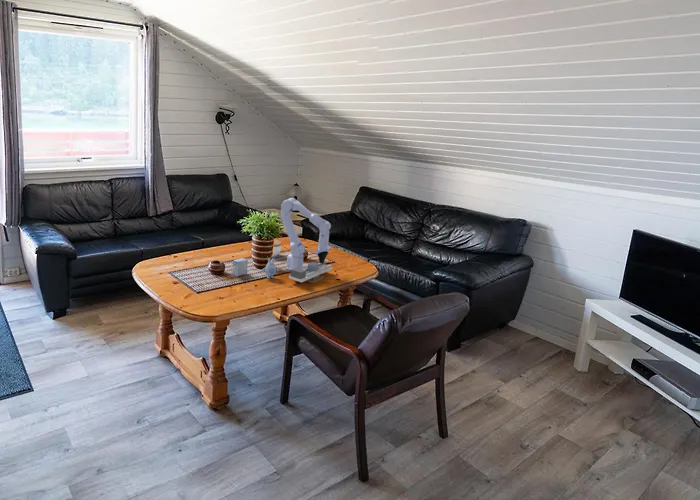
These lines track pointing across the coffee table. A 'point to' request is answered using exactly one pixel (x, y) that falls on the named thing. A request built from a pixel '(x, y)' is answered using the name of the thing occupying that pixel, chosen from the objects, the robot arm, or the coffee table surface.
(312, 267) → the rider
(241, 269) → the medicine box
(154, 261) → the coffee table surface
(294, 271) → the balance beam
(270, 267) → the toy figure
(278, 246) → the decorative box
